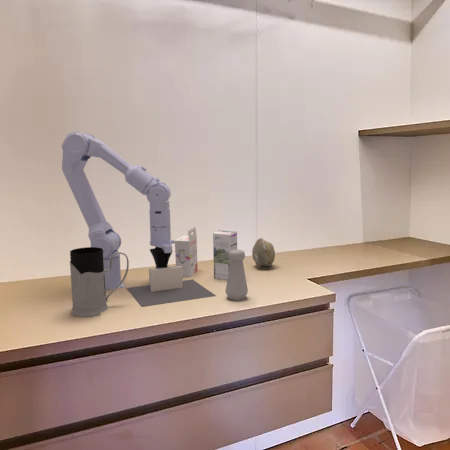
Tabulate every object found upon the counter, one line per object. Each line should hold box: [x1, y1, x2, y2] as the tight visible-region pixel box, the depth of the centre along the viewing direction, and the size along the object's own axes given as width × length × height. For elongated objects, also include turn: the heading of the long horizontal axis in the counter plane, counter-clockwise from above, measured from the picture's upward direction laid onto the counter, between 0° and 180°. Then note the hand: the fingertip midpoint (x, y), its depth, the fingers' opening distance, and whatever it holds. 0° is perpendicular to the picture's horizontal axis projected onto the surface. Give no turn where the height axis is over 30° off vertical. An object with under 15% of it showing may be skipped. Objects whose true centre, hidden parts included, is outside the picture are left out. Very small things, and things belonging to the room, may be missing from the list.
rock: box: [251, 237, 276, 268], centre depth 149 cm, size 9×8×10 cm
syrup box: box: [212, 229, 238, 281], centre depth 135 cm, size 6×6×14 cm
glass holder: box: [69, 246, 130, 318], centre depth 109 cm, size 9×14×15 cm, turn 114°
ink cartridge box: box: [174, 226, 198, 278], centre depth 141 cm, size 9×5×15 cm, turn 168°
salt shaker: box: [224, 249, 249, 302], centre depth 115 cm, size 6×6×13 cm
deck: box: [148, 265, 184, 292], centre depth 124 cm, size 9×2×6 cm, turn 114°
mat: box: [125, 278, 217, 308], centre depth 122 cm, size 20×18×1 cm
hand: (161, 273), depth 128 cm, fingers closed
